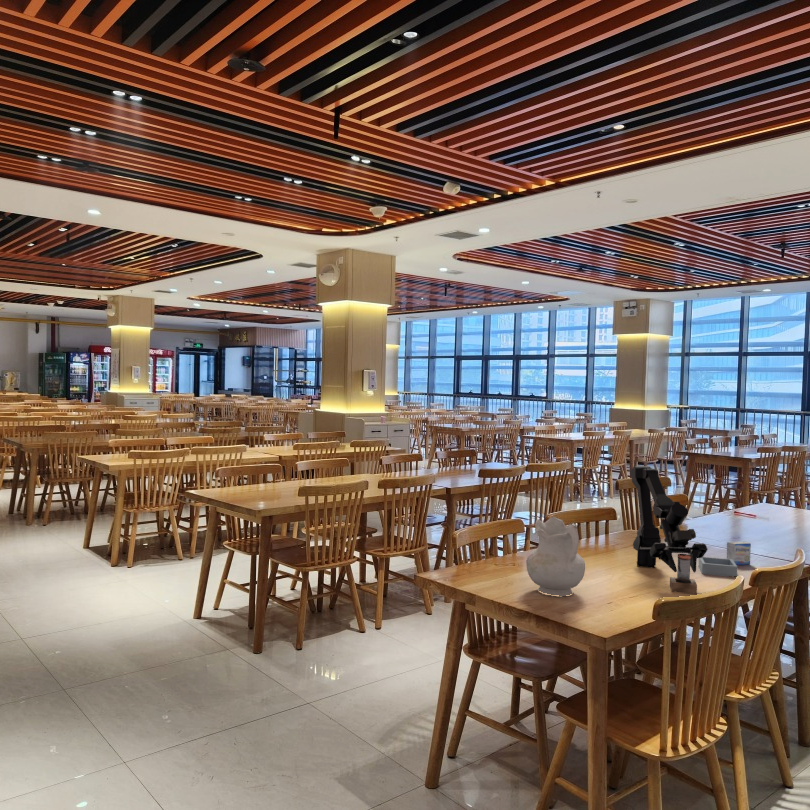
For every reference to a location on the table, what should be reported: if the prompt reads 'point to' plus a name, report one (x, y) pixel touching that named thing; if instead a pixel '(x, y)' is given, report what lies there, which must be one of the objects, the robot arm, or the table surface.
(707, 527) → the table surface
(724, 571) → the tray
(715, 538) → the table surface
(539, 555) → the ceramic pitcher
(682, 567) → the pin
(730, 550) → the medicine box
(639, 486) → the robot arm
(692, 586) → the socket block
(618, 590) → the table surface
